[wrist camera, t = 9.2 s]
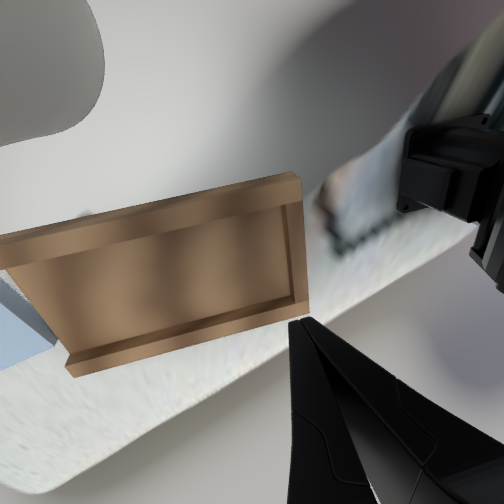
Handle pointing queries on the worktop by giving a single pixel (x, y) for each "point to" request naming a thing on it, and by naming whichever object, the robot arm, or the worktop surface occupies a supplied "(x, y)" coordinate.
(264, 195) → the brown flat wooden tray
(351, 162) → the worktop surface
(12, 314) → the blue mattress with pillow
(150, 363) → the worktop surface
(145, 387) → the worktop surface
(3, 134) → the mug
